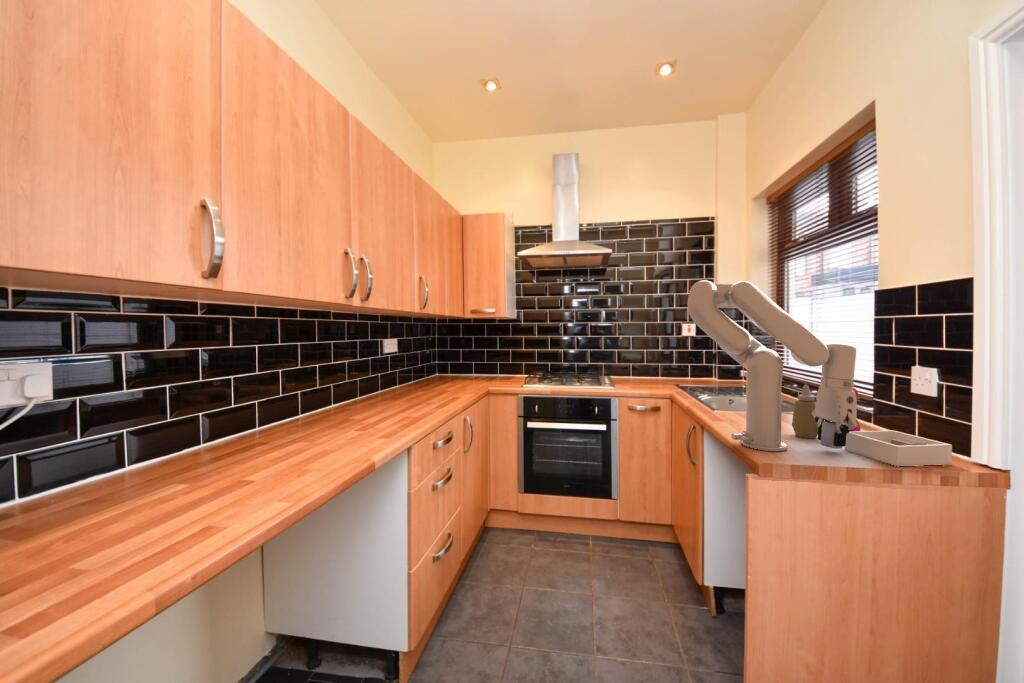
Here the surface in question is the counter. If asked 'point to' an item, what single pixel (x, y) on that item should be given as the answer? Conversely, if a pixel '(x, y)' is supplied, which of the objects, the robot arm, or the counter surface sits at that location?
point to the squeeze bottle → (805, 415)
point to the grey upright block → (828, 434)
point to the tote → (898, 448)
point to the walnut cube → (906, 442)
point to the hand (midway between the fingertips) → (831, 442)
